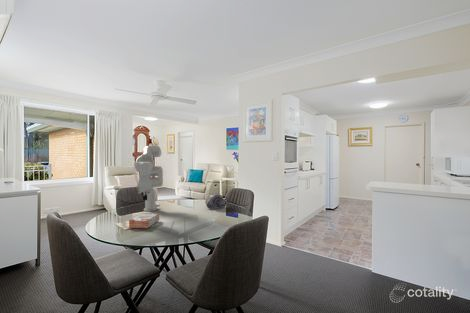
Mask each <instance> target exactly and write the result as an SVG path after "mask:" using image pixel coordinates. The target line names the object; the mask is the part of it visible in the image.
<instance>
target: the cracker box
mask: <svg viewBox="0 0 470 313" xmlns="http://www.w3.org/2000/svg"><path fill="white" fill-rule="evenodd" d="M128 221H129V228H132V229H148V228H149V227H151V226H153V225H154V224H156V223H157V222H158V221H160V213H147V212H145V213H144V212H143V213H141V214H139V215H137V216H134V217H133V218H131V219H129V220H128Z"/></svg>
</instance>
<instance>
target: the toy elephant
mask: <svg viewBox="0 0 470 313" xmlns="http://www.w3.org/2000/svg"><path fill="white" fill-rule="evenodd" d="M228 203H229V202H227V200H226V199H225V198H224V197H223V195H221V194H220V193H214V194H211V195H209V196H207V198H206V199H205V205H206V208H208V209H209V210H216V209H217V210H218V209H223V208H225V207H226V206H227V205H228Z"/></svg>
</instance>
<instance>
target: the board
mask: <svg viewBox="0 0 470 313" xmlns="http://www.w3.org/2000/svg"><path fill="white" fill-rule="evenodd" d="M114 225H115V226H117V227H118V228H120V229H122V230H124V231H128V230H132V229H133V228H129V220H126V221H122V222H121V221H120V222H117V223H114Z"/></svg>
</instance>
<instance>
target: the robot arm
mask: <svg viewBox="0 0 470 313" xmlns="http://www.w3.org/2000/svg"><path fill="white" fill-rule="evenodd" d="M141 151H142V154H141V155H140V156H138V157H137V158H136V160H135V162H134V169H135V171H138V172H139V179H138V182H137V194H139V195H140V194H141V195H142V200H143V201H144V208H143V211H144V212H152V211H153V212H154V211H157V210H158V207H159V208H160V207H161V204H156V190H155V188H161V187H163V185H164V179H163V178H164V177H163V176H164V171H163V166H157V165H155V164H156V162H155V159H154V158H160V157H161V155H162V149H161V147H160V146H158V145H146V146H145V147H144V148H143V149H142V150H141Z"/></svg>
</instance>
